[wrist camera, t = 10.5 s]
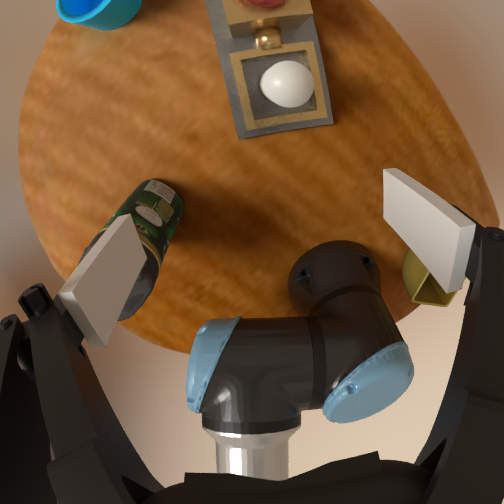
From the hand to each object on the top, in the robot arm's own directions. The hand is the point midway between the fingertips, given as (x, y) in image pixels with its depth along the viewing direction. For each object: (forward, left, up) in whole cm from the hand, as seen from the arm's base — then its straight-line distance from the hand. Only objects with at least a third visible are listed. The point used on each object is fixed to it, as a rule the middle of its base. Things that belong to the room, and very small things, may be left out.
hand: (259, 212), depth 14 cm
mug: (+25, +12, -25) cm, 37 cm away
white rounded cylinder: (+6, -4, -24) cm, 25 cm away
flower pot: (-23, -24, -25) cm, 42 cm away
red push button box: (+11, -4, -25) cm, 27 cm away
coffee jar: (-7, +16, -25) cm, 30 cm away
